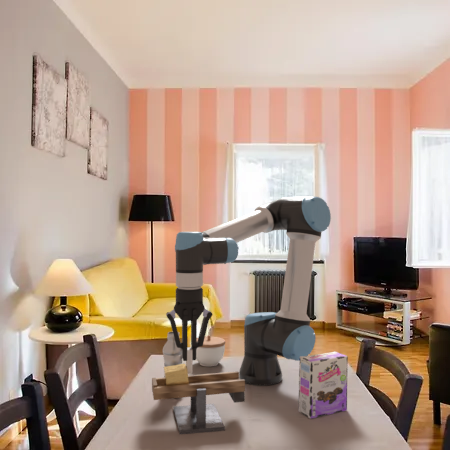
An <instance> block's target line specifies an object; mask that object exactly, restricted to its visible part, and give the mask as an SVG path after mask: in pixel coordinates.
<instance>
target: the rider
mask: <svg viewBox="0 0 450 450" xmlns="http://www.w3.org/2000/svg"><path fill="white" fill-rule="evenodd" d="M163 373H164V374H163V376H164V375H165V384H166V386H173V385H184V384H189V381H188V375H189V374H188V371H187V367H186V363H182V364H179V365H173V366H167V367H165V366H164V367H163Z"/></svg>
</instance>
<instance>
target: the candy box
mask: <svg viewBox="0 0 450 450" xmlns="http://www.w3.org/2000/svg"><path fill="white" fill-rule="evenodd" d="M348 358H349V357H348V355H347V354H343V353H340V352H338V351H331V352H325V353H319V354H317V353H316V354H312V355H311V354H309V355H308V356H301V357H300V360H299V373H298V376H299V377H298V380H299V381H298V412H299V413H301V414H302V415H304V416H305V417H307V418H309V420H311V419H315V418H318V417H323V416H327V415H328V416H329V415H333V414H337V413H342V412H346V411H347V410H348V366H349V365H348V363H349V362H348Z"/></svg>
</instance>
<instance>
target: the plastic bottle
mask: <svg viewBox="0 0 450 450" xmlns="http://www.w3.org/2000/svg"><path fill="white" fill-rule="evenodd" d="M178 335H179V339H180V332H179V331H178ZM166 339H167V341H166V342H165V343H164V344H163V345H164V346H163V347H162V355H163V362H164V367H167V366H173V365H179V364H183V358H182V348H178V347H177V346H176V343H175V339H174V335H173V331H168V332H167V337H166ZM163 378H165V375H164V374H163Z"/></svg>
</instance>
